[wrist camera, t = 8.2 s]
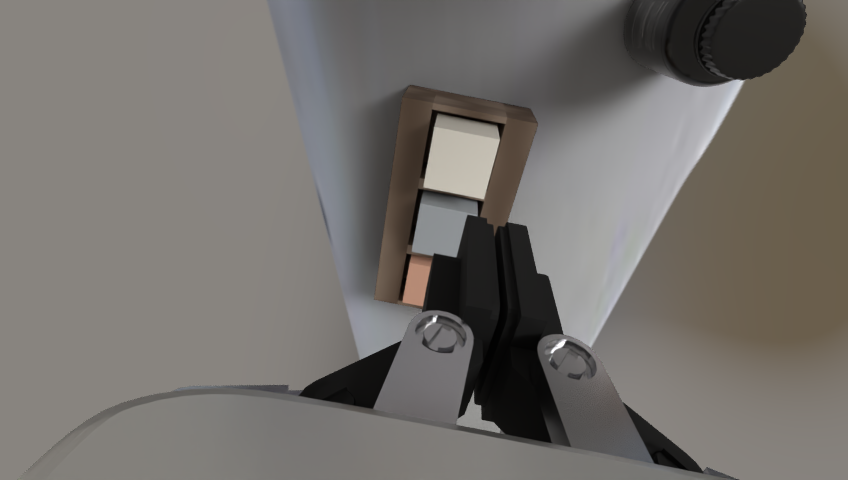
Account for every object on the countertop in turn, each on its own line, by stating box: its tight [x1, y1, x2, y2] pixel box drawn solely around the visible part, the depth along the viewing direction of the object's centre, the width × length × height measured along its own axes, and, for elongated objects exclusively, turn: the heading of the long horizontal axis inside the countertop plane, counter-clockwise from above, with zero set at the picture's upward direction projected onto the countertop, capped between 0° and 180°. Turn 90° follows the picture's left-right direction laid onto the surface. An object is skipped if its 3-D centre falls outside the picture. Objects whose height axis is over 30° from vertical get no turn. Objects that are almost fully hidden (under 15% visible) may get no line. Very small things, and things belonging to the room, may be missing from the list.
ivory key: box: [423, 113, 500, 199], centre depth 34 cm, size 5×5×4 cm
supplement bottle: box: [624, 0, 807, 87], centre depth 28 cm, size 7×7×12 cm
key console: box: [374, 85, 538, 309], centre depth 41 cm, size 11×21×5 cm, turn 170°
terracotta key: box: [403, 254, 432, 306], centre depth 43 cm, size 5×5×4 cm
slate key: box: [412, 190, 478, 257], centre depth 39 cm, size 5×5×4 cm
